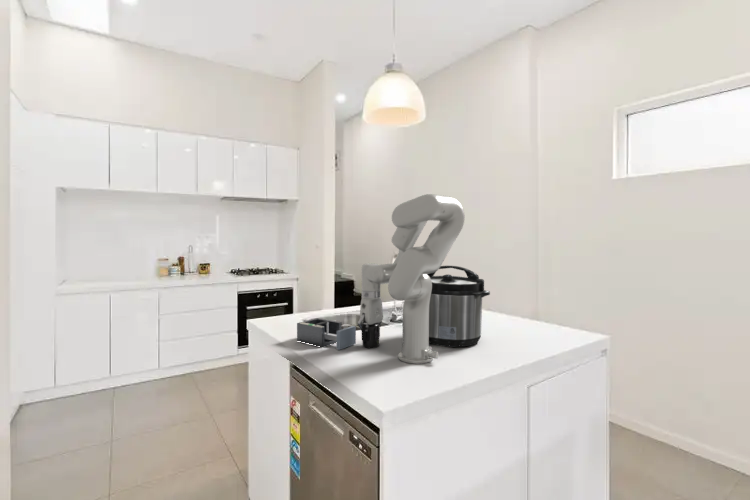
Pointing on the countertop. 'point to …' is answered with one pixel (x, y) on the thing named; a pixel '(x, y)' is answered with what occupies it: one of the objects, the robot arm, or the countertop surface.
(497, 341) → the countertop surface
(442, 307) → the pressure cooker
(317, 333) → the box
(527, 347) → the countertop surface
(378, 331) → the supplement bottle
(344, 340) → the gauge plunger
